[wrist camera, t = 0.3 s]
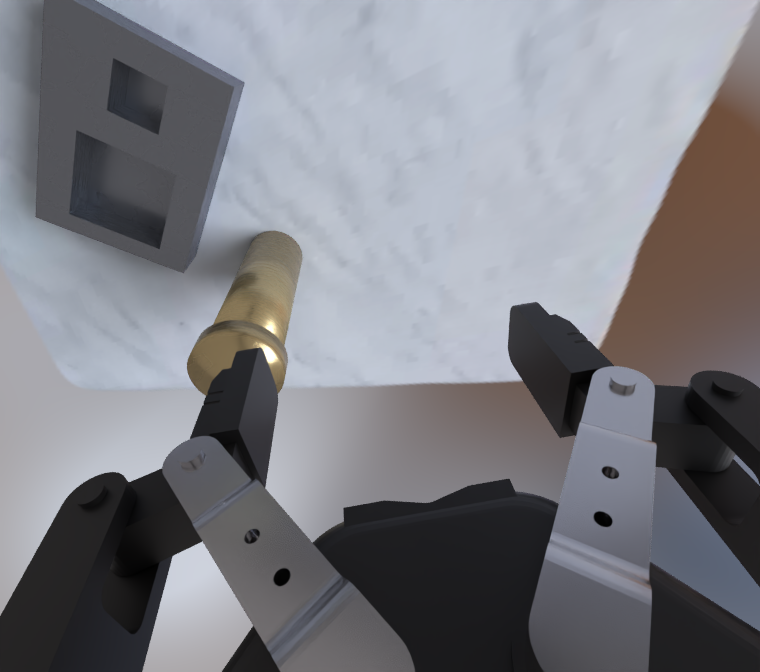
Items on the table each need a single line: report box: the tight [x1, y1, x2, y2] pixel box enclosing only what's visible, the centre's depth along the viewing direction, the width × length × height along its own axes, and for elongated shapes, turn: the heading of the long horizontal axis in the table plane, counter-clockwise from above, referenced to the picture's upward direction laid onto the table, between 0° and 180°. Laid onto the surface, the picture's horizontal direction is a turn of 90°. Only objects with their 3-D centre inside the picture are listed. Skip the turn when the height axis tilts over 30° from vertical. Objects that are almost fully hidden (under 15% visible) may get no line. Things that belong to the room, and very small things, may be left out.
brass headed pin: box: [187, 231, 302, 396], centre depth 28 cm, size 5×5×15 cm
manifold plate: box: [36, 0, 244, 273], centre depth 28 cm, size 14×10×3 cm
